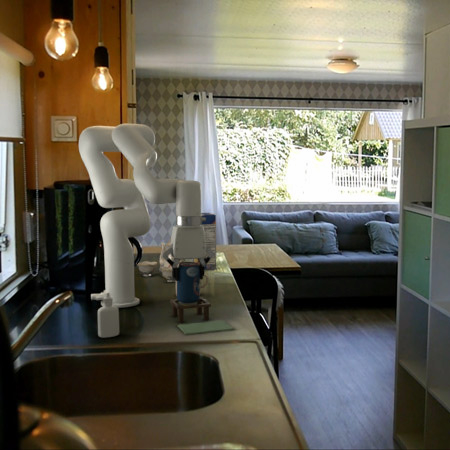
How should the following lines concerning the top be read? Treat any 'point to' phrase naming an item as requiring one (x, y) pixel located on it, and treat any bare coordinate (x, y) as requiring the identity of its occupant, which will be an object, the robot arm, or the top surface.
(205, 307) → the can rack
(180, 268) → the soda can
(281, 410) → the top surface
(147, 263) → the chinaware
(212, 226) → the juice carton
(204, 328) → the mat
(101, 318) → the eye dropper bottle
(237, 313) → the top surface
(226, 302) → the top surface
